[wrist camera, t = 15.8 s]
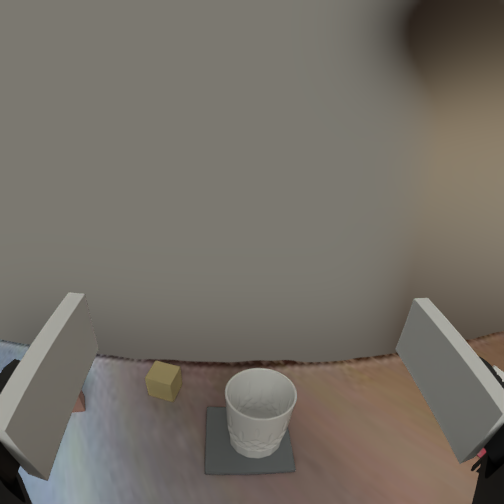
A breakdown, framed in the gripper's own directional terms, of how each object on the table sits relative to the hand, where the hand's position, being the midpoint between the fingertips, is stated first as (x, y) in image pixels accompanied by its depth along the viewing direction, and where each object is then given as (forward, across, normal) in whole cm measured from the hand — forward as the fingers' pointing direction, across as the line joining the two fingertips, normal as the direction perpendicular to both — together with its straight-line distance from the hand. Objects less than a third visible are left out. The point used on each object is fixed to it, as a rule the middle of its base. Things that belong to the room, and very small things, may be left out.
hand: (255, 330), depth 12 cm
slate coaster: (+14, +2, -30) cm, 33 cm away
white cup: (+14, +3, -30) cm, 33 cm away
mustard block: (+23, -10, -30) cm, 39 cm away
